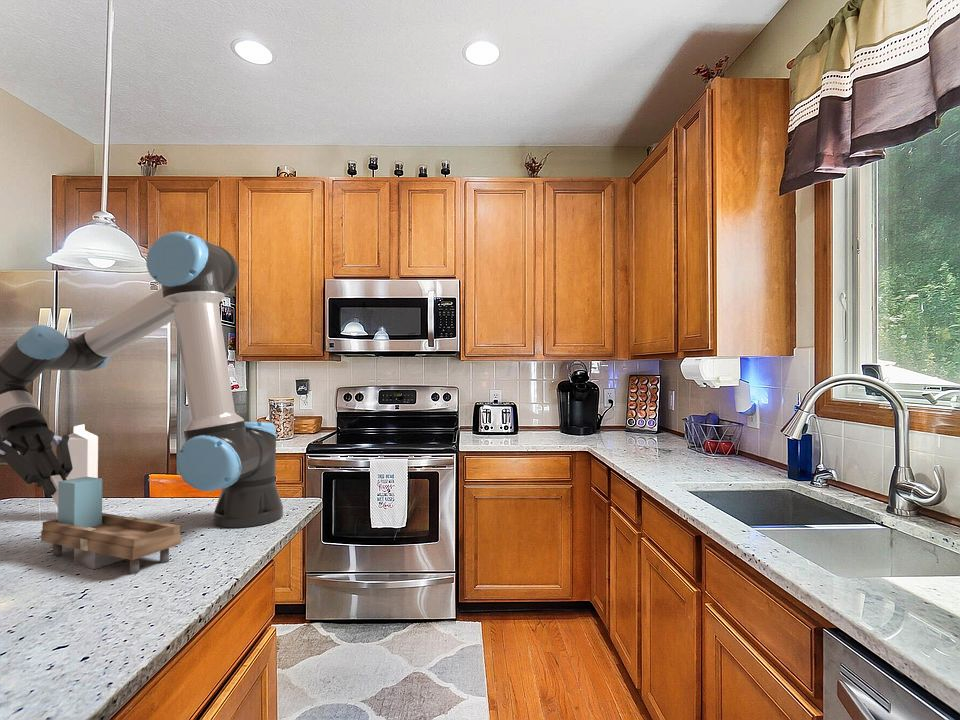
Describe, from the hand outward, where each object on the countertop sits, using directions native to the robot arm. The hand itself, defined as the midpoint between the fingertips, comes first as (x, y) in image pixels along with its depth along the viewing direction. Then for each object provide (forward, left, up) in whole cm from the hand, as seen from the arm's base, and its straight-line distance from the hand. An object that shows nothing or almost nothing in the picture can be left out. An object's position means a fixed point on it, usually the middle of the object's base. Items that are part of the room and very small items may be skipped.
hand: (66, 504), depth 104 cm
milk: (+13, -26, -9) cm, 30 cm away
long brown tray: (-11, +6, -9) cm, 16 cm away
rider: (-4, +2, -4) cm, 6 cm away
